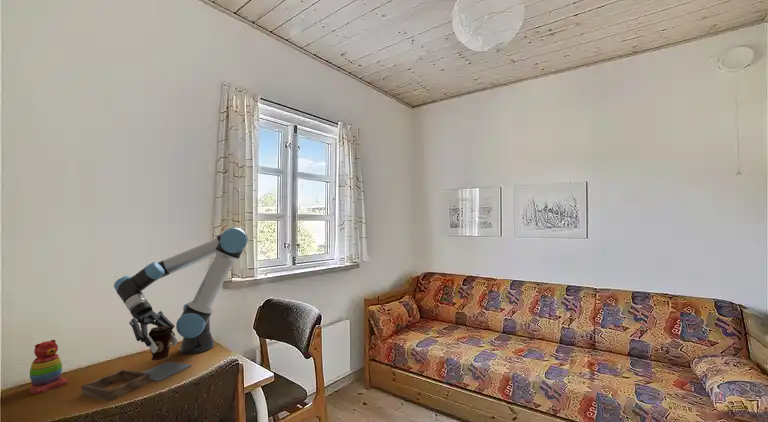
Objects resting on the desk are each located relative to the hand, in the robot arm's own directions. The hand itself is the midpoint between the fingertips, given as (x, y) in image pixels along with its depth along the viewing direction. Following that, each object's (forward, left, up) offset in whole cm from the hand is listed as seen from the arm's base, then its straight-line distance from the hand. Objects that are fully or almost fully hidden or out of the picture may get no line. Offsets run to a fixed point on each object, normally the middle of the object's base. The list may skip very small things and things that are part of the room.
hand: (166, 347), depth 153 cm
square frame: (+16, -6, -11) cm, 21 cm away
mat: (-1, -3, -11) cm, 11 cm away
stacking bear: (+23, -36, -11) cm, 44 cm away
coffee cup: (0, -3, -5) cm, 6 cm away
